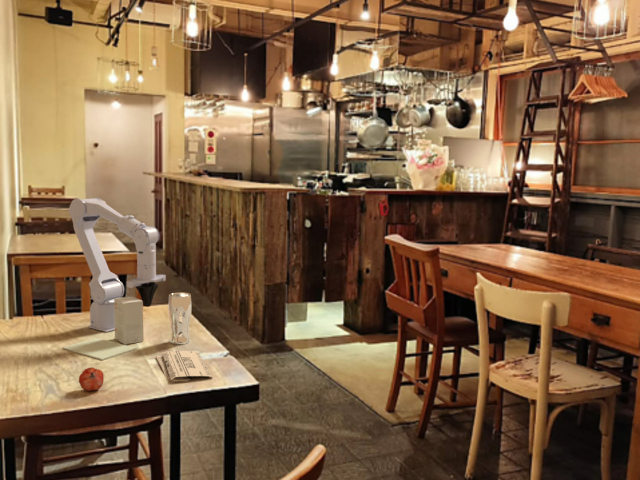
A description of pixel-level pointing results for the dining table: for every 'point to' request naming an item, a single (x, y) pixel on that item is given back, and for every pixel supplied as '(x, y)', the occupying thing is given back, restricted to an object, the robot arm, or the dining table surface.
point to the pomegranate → (91, 379)
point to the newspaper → (182, 365)
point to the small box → (128, 320)
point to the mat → (99, 348)
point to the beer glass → (179, 317)
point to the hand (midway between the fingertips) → (147, 306)
